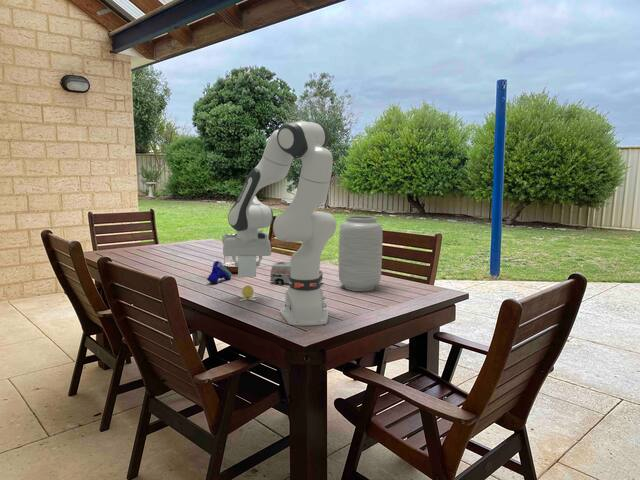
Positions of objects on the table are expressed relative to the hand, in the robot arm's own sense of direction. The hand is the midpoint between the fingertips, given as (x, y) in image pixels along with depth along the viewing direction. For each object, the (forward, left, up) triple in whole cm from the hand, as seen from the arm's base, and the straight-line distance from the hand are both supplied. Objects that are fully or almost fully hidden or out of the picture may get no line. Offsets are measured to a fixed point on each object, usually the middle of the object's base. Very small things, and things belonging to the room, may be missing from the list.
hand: (247, 266), depth 196 cm
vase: (+15, -52, -14) cm, 56 cm away
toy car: (+26, -23, -14) cm, 37 cm away
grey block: (0, 0, -4) cm, 4 cm away
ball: (+2, 0, -12) cm, 12 cm away
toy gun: (+32, +14, -14) cm, 38 cm away
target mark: (0, 0, -14) cm, 14 cm away
